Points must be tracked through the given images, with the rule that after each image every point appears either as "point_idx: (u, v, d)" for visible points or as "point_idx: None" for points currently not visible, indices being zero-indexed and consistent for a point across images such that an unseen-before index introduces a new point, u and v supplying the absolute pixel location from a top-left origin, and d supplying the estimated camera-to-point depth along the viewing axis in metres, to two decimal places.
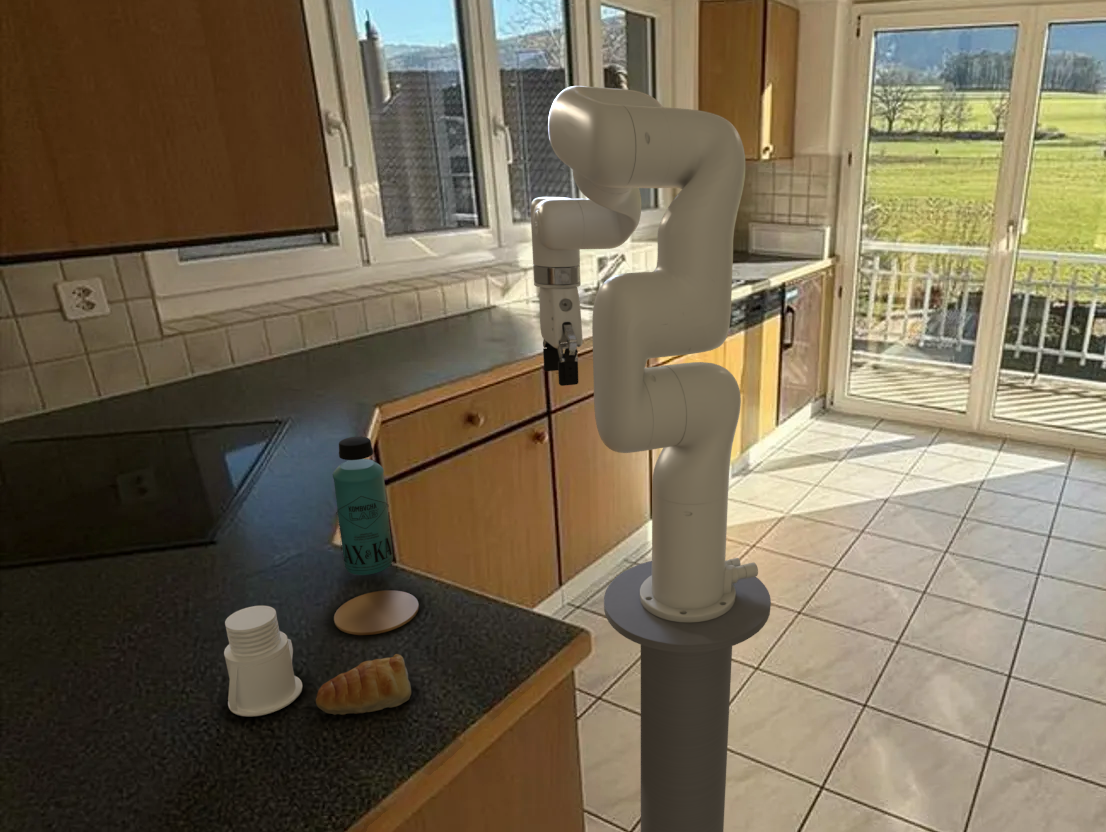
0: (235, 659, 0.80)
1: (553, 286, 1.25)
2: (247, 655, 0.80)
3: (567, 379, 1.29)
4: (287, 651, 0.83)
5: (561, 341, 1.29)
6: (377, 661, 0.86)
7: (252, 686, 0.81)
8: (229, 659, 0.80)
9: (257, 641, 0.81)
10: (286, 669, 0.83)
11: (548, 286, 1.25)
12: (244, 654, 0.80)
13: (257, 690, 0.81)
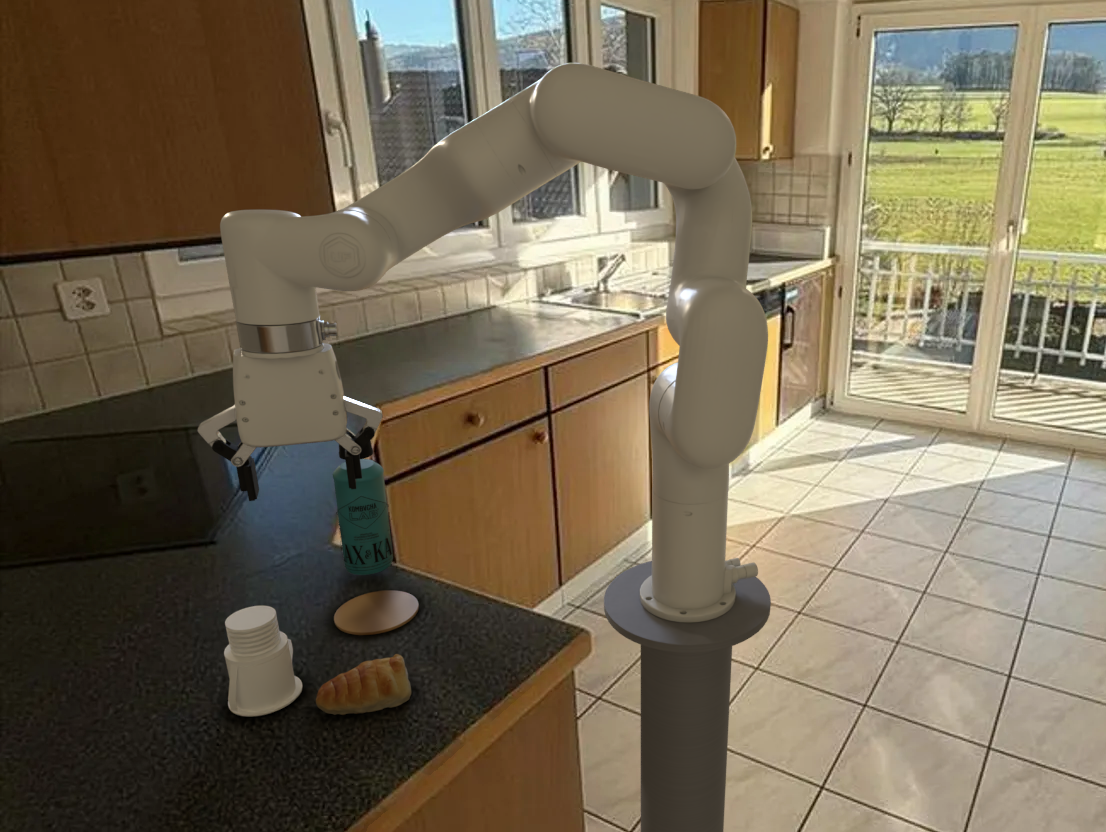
0: (235, 659, 0.80)
1: (319, 348, 0.80)
2: (247, 655, 0.80)
3: (361, 475, 0.87)
4: (287, 651, 0.83)
5: None
6: (377, 661, 0.86)
7: (252, 686, 0.81)
8: (229, 659, 0.80)
9: (257, 641, 0.81)
10: (286, 669, 0.83)
11: (314, 350, 0.80)
12: (244, 654, 0.80)
13: (257, 690, 0.81)
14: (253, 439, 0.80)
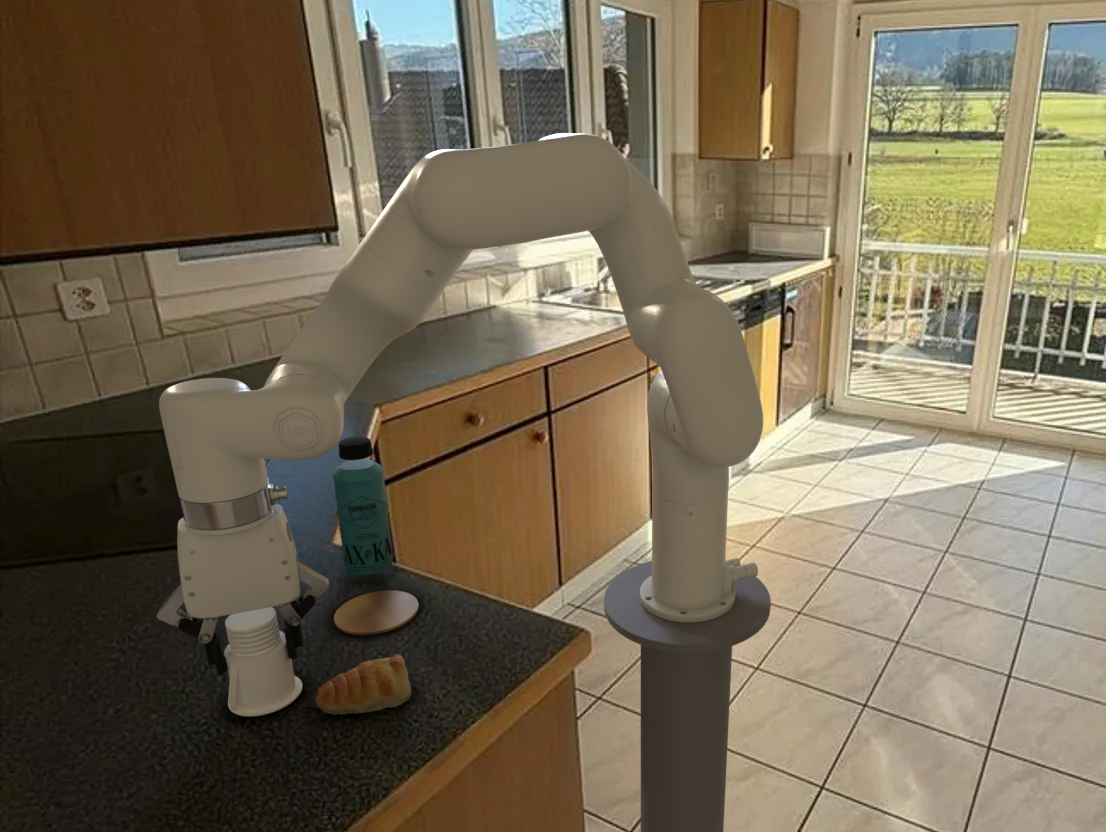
0: (235, 659, 0.80)
1: (269, 515, 0.78)
2: (247, 655, 0.80)
3: (302, 643, 0.84)
4: (287, 651, 0.83)
5: None
6: (377, 661, 0.86)
7: (252, 686, 0.81)
8: (229, 659, 0.80)
9: (257, 641, 0.81)
10: (286, 669, 0.83)
11: (263, 519, 0.77)
12: (244, 654, 0.80)
13: (257, 690, 0.81)
14: (201, 612, 0.77)
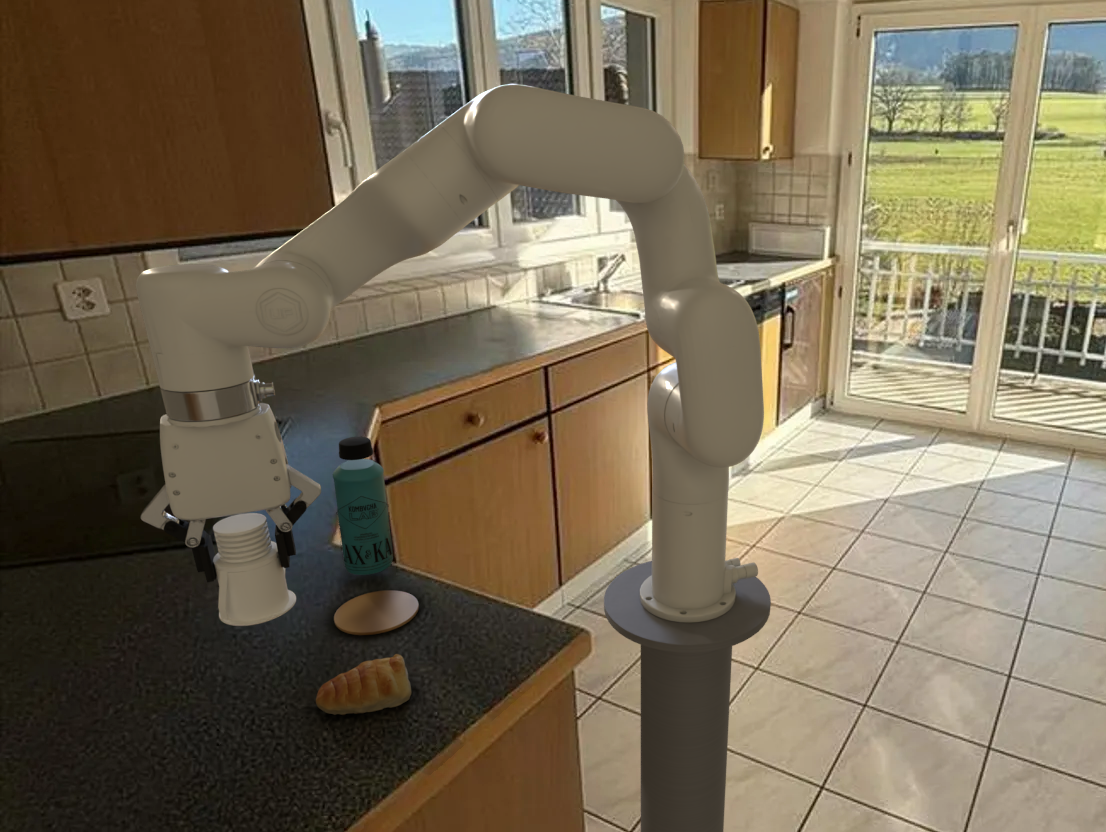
0: (224, 565, 0.77)
1: (255, 411, 0.74)
2: (236, 561, 0.77)
3: (295, 552, 0.81)
4: (279, 560, 0.80)
5: None
6: (377, 661, 0.86)
7: (243, 594, 0.78)
8: (218, 565, 0.77)
9: (247, 546, 0.77)
10: (278, 578, 0.80)
11: (250, 414, 0.73)
12: (234, 560, 0.77)
13: (248, 598, 0.78)
14: (187, 512, 0.74)
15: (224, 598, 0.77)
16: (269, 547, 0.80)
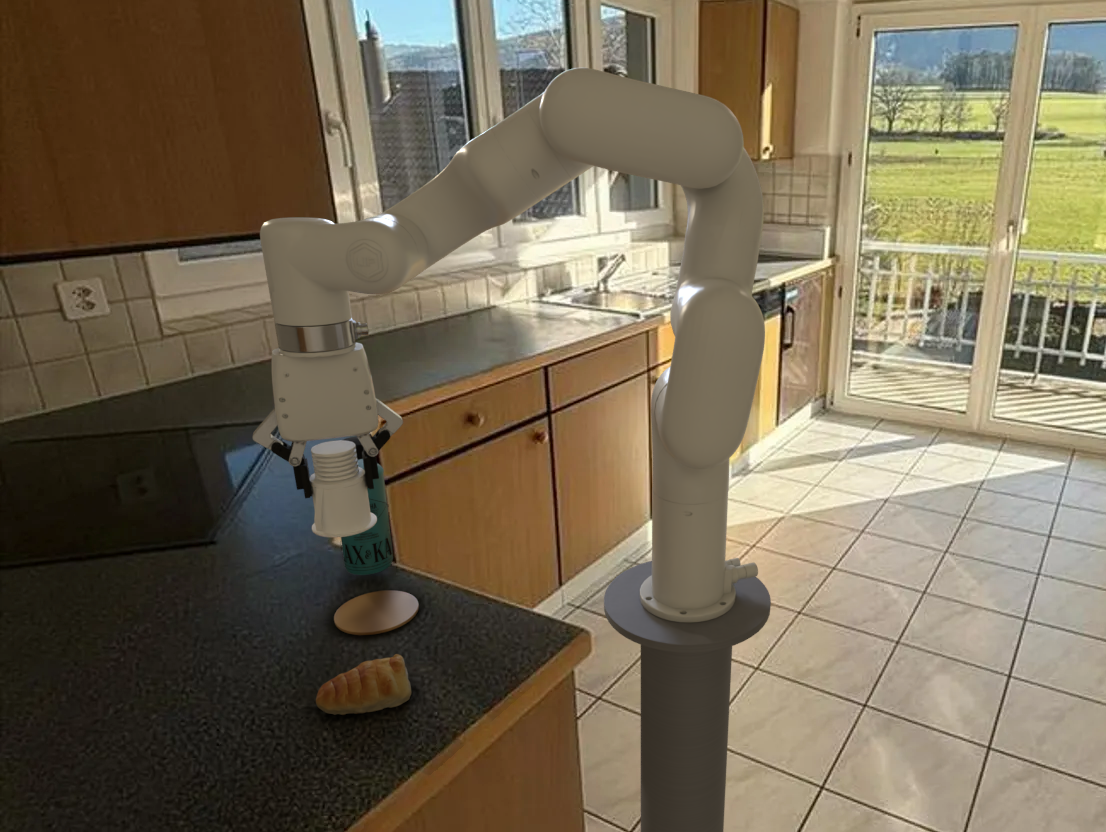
0: (320, 483, 0.88)
1: (353, 347, 0.86)
2: (331, 480, 0.88)
3: (378, 475, 0.92)
4: (365, 481, 0.92)
5: None
6: (377, 661, 0.86)
7: (335, 509, 0.89)
8: (315, 483, 0.88)
9: (340, 467, 0.89)
10: (364, 498, 0.91)
11: (349, 349, 0.85)
12: (328, 478, 0.88)
13: (340, 513, 0.89)
14: (292, 434, 0.85)
15: (320, 512, 0.88)
16: (357, 470, 0.91)
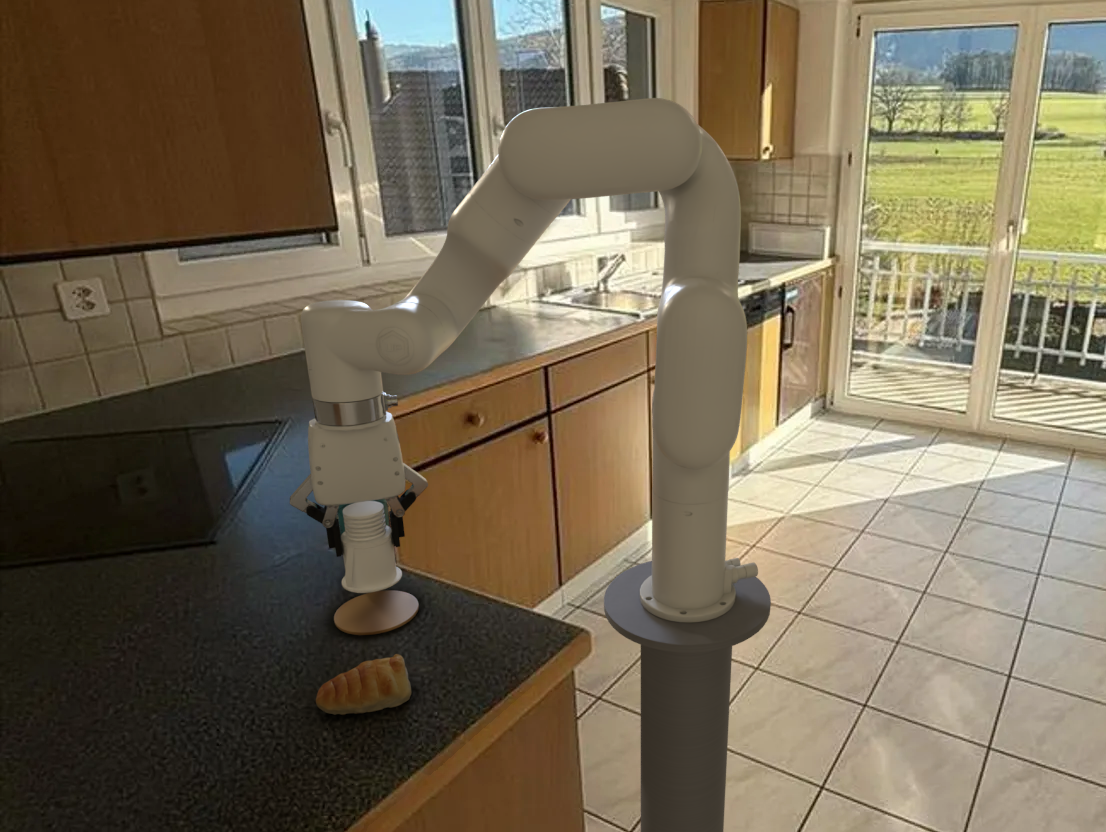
0: (351, 543, 0.95)
1: (383, 418, 0.92)
2: (361, 539, 0.95)
3: (404, 534, 0.99)
4: (392, 540, 0.98)
5: None
6: (377, 661, 0.86)
7: (365, 566, 0.95)
8: (346, 543, 0.95)
9: (370, 528, 0.95)
10: (391, 555, 0.98)
11: (380, 421, 0.91)
12: (359, 538, 0.95)
13: (368, 570, 0.96)
14: (326, 499, 0.92)
15: (350, 569, 0.95)
16: (385, 529, 0.97)
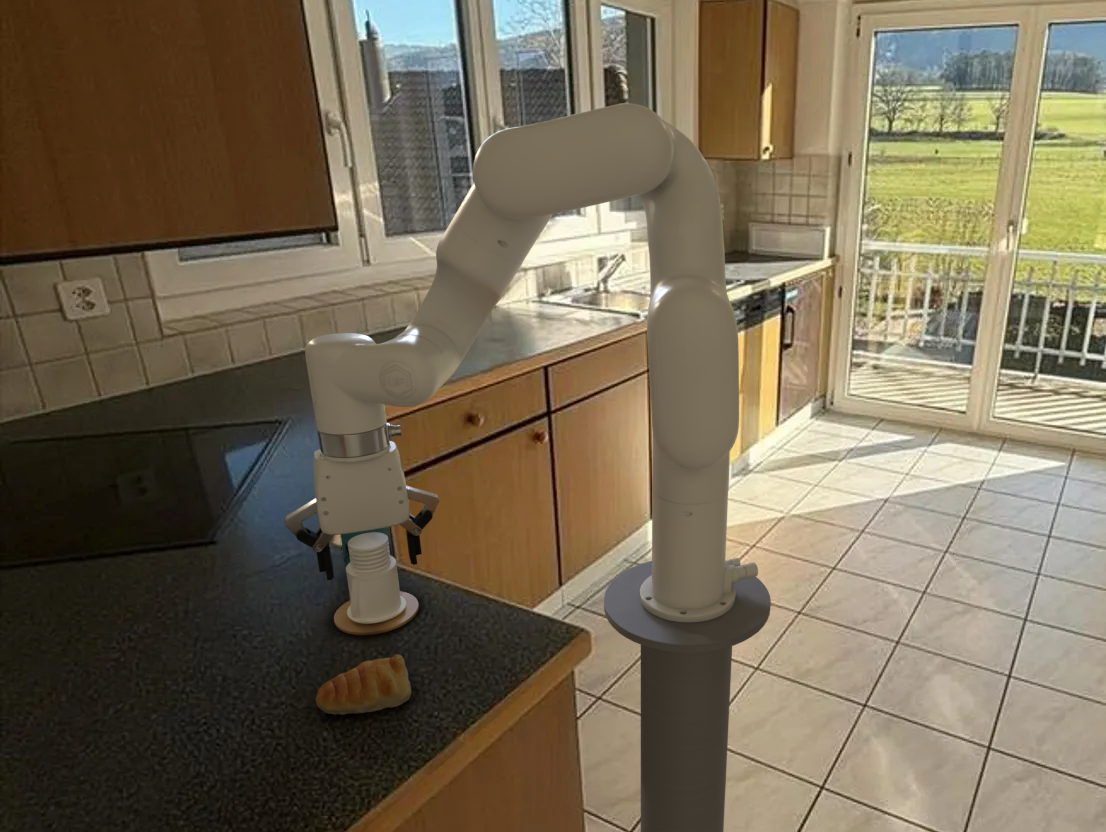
0: (356, 574, 0.96)
1: (387, 448, 0.93)
2: (366, 571, 0.96)
3: None
4: (396, 570, 0.99)
5: None
6: (377, 661, 0.86)
7: (370, 598, 0.97)
8: (351, 574, 0.96)
9: (374, 559, 0.96)
10: (395, 585, 0.99)
11: (384, 451, 0.92)
12: (364, 570, 0.96)
13: (373, 601, 0.97)
14: (332, 529, 0.93)
15: (355, 601, 0.96)
16: (389, 560, 0.99)
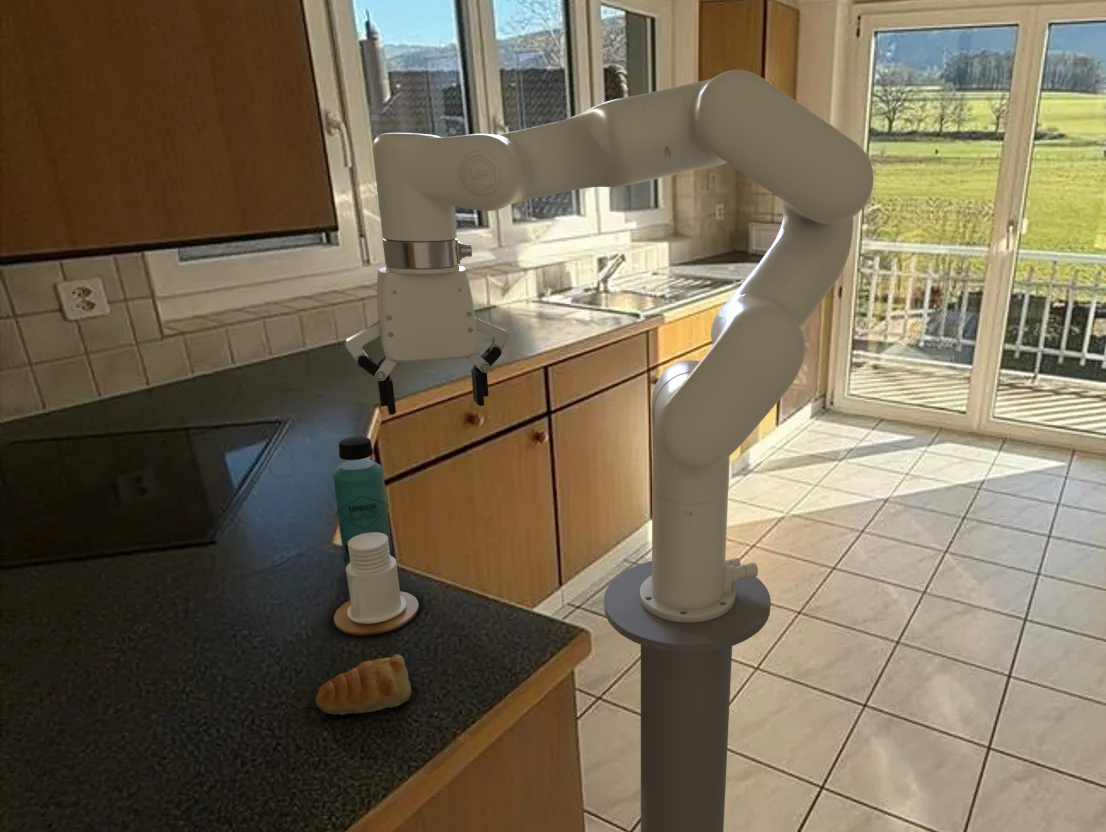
0: (356, 574, 0.96)
1: (457, 267, 0.85)
2: (366, 571, 0.96)
3: None
4: (396, 570, 0.99)
5: None
6: (377, 661, 0.86)
7: (370, 598, 0.97)
8: (351, 574, 0.96)
9: (374, 559, 0.96)
10: (395, 585, 0.99)
11: (454, 268, 0.85)
12: (364, 570, 0.96)
13: (373, 601, 0.97)
14: (396, 354, 0.85)
15: (355, 601, 0.96)
16: (389, 560, 0.99)
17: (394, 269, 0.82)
